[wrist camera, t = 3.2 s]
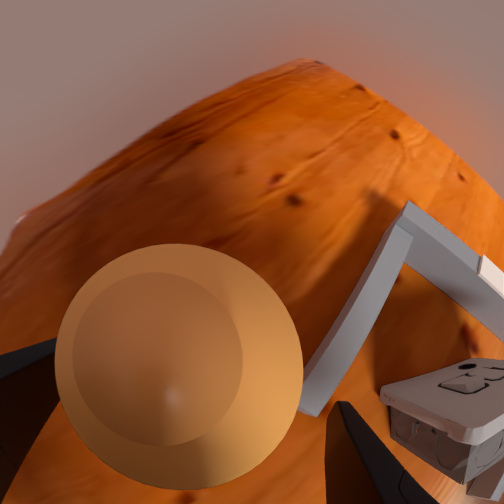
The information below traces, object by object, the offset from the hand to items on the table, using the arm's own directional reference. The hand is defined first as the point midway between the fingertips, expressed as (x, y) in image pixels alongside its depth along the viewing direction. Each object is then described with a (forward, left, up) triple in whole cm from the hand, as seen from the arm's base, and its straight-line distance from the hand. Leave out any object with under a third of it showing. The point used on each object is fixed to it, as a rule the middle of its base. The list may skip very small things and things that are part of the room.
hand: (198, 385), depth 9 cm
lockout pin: (0, 0, -8) cm, 8 cm away
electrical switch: (-6, -14, -8) cm, 17 cm away
